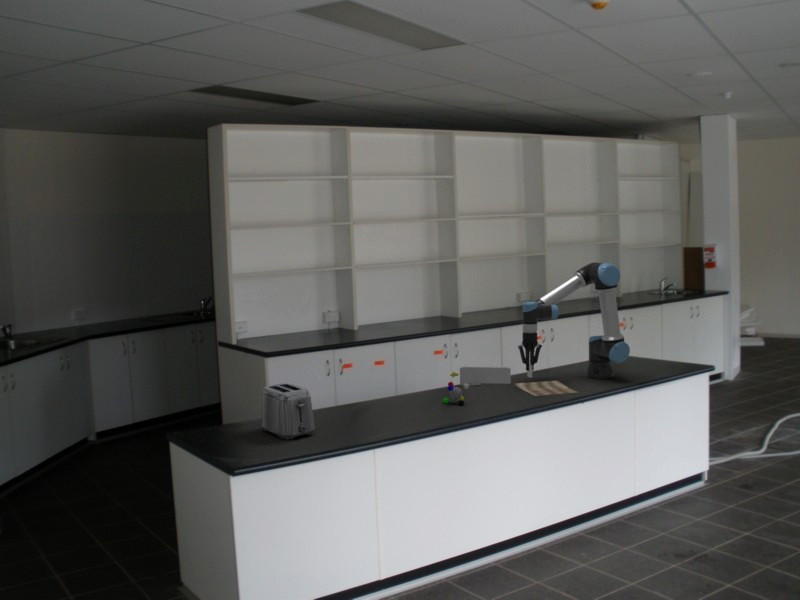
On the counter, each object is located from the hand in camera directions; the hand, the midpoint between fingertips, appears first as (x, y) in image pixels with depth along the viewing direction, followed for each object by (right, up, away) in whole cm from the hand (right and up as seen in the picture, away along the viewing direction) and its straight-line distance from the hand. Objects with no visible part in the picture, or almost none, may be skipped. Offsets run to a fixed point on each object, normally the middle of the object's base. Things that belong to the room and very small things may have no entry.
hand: (529, 376), depth 397 cm
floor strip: (+9, -8, -12) cm, 17 cm away
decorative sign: (-24, -6, +14) cm, 29 cm away
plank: (+6, -6, 0) cm, 9 cm away
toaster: (-116, -16, -72) cm, 137 cm away
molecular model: (-40, -10, -27) cm, 50 cm away
